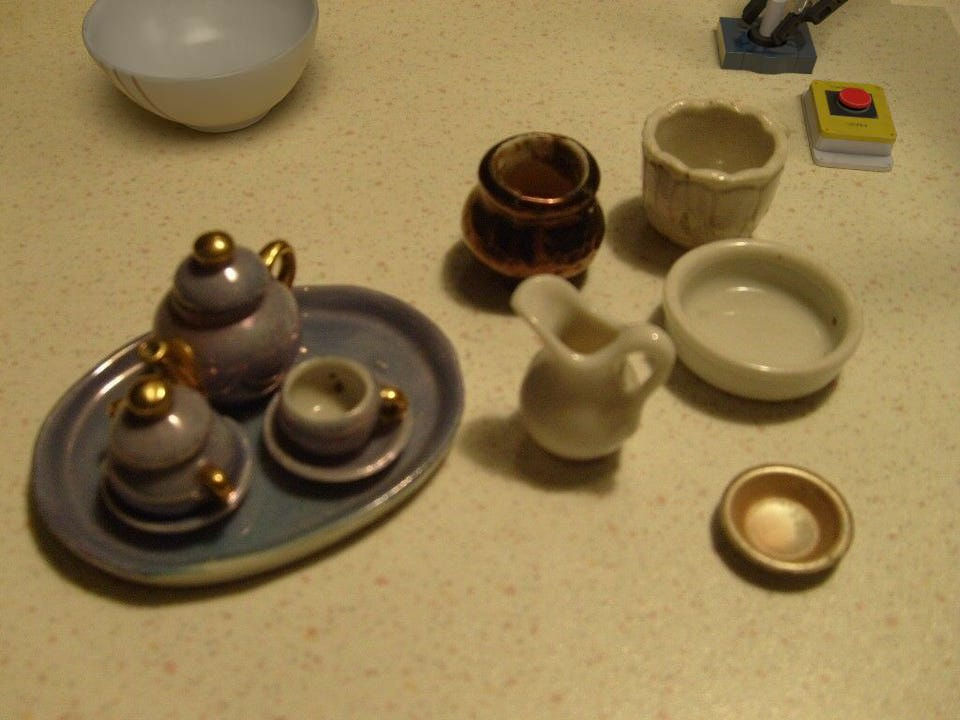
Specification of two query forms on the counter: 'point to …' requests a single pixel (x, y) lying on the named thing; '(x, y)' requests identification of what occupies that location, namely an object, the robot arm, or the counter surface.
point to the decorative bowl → (203, 55)
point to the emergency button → (849, 125)
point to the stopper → (768, 24)
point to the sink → (763, 49)
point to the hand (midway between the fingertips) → (759, 30)
